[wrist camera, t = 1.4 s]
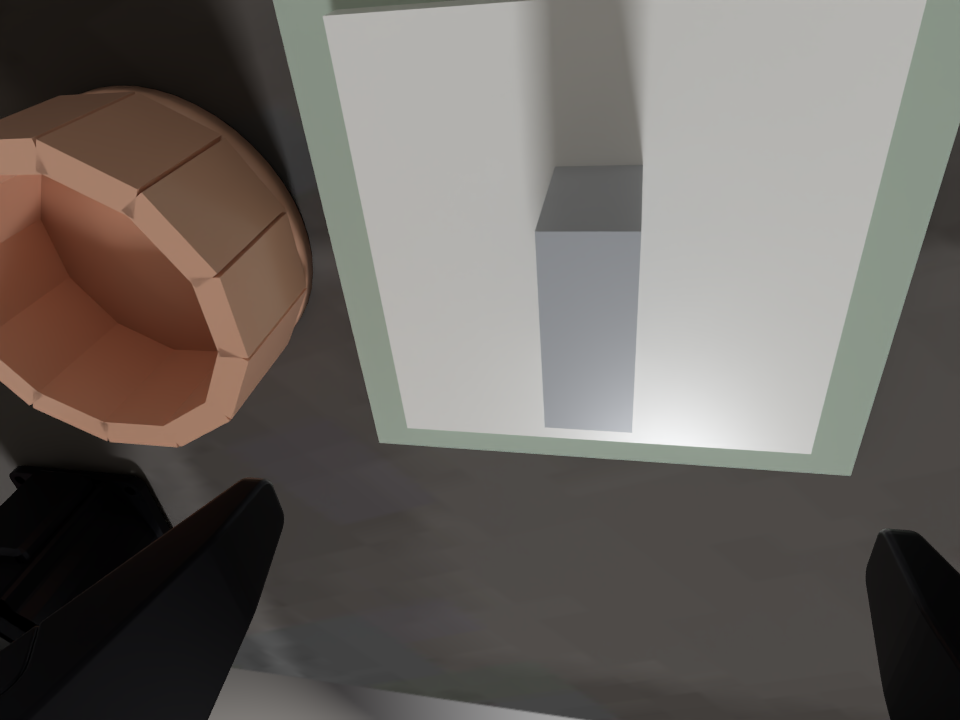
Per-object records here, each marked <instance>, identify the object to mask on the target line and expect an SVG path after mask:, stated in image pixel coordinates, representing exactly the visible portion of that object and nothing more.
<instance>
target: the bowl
mask: <svg viewBox="0 0 960 720" xmlns="http://www.w3.org/2000/svg"><path fill="white" fill-rule="evenodd" d="M312 277H313V266H312V254H311V249H310V244H309V238H308V235H307V232H306V229H305V226H304V223H303V220H302V218H301V215H300V213H299V211H298V209H297V207H296V205H295V202H294V200H293V199H292V197H291V195H290V194H289V192H288V190H287V189H286V187H285V185H284V183H283V182H282V180H281V179H280V178H279V176H278V175H277V174H276V172H275V171H274V170H273V168H272V167H271V166H270V164H269V163H268V162H267V161H266V160H265V159H264V158H263V157H262V155H261V154H260V153H259V152H258V151H257V150H256V149H255V148H254V147H253V146H252V145H251V144H250V143H249V142H248V141H247V140H246V139H244V138H243V137H242V136H241V135H240V134H239V133H238V132H237V131H235V130H234V129H233V128H231V127H230V126H229V125H227V124H226V123H225V122H223V121H222V120H220V119H219V118H218V117H216V116H215V115H213V114H211V113H209V112H208V111H206V110H204V109H203V108H201V107H199V106H197V105H195V104H193V103H191V102H189V101H186V100H184V99H182V98H180V97H177V96H175V95H171V94H168V93H165V92H162V91H159V90H155V89H150V88H144V87H138V86H108V87H101V88H96V89H93V90H90V91H87V92H84V93H81V94H79V95H60V96H57V97H55V98H52V99H50V100H47V101H45V102H42V103H40V104H37V105H35V106H32V107H30V108H27V109H25V110H22V111H20V112H17V113H15V114H12V115H10V116H7V117H5V118H2V119H0V381H1V382H2V383H3V384H4V385H6V386H7V387H8V388H9V389H10V390H12V391H13V392H14V393H15V394H16V395H18V396H19V397H20V398H21V399H22V400H24V401H25V402H26V403H27V404H28V405H29V406H30V405H31V404H33V408H35V409H37V410H39V411H41V412H43V413H46V414H48V415H50V416H52V417H55V418H57V419H59V420H61V421H63V422H66V423H68V424H70V425H72V426H74V427H77V428H79V429H81V430H83V431H85V432H88V433H90V434H92V435H94V436H97V437H99V438H101V439H103V440H105V441H107V440H108V439H109V441H110V442H116V443H129V444H142V445H155V446H168V447H179V446H180V447H181V446H183V445H185V444H187V443H189V442H191V441H193V440H195V439H197V438H199V437H200V436H202V435H204V434H206V433H208V432H210V431H212V430H214V429H216V428H218V427H219V426H221V425H223V424H225V423H227V422H229V421H230V420H231V419H232V418H233V417H234V415H235V414H236V413H237V411H238V410H239V409H240V407H241V406H242V405H243V403H244V402H245V401H246V399H247V398H248V397H249V395H250V394H251V393H252V391H253V390H254V389H255V387H256V386H257V385H258V383H259V382H260V380H261V379H262V378H263V376H264V375H265V374H266V372H267V371H268V370H269V368H270V367H271V366H272V364H273V363H274V362H275V360H276V359H277V358H278V356H279V355H280V354H281V352H282V351H283V350H284V348H285V347H286V346H287V344H288V343H289V340H290V337H291V334H292V331H293V329H294V327H295V326H296V324H297V323H298V321H299V320H300V318H301V317H302V315H303V313H304V311H305V308H306V306H307V304H308V301H309V297H310V293H311V289H312Z"/></svg>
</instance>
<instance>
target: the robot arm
mask: <svg viewBox="0 0 960 720" xmlns="http://www.w3.org/2000/svg"><path fill="white" fill-rule="evenodd" d="M9 477H10V479H11V480H12V482H13V483H14V485H15V486H16V488H17V490H16V491H15V492H14V493H13V494H12V495H11V496H10V497H9V498H8V499H7V500H6V501H5V502H4V503H3V504H2V505H1V506H0V720H208V718H209V716H210V714H211V711H212V709H213V707H214V705H215V702H216V700H217V698H218V696H219V693H220V691H221V689H222V686H223V684H224V682H225V680H226V677H227V675H228V673H229V671H230V668H231V666H232V664H233V662H234V659H235V657H236V655H237V653H238V650H239V648H240V646H241V644H242V641H243V639H244V637H245V635H246V632H247V630H248V628H249V625H250V623H251V621H252V618H253V616H254V613H255V611H256V608H257V605H258V602H259V600H260V597H261V593H262V590H263V587H264V584H265V581H266V578H267V575H268V572H269V569H270V566H271V563H272V560H273V556H274V553H275V550H276V547H277V544H278V541H279V538H280V535H281V532H282V529H283V524H284V514H283V510H282V508H281V505H280V503H279V500H278V498H277V495H276V493H275V490H274V487H273V485H272V483H271V482H270V481H269V480H267V479H262V478H244V479H242V480H240V481H238V482H237V483H236V484H234V485H233V486H231V487H230V488H228V489H227V490H226V491H224V492H223V493H221V494H220V495H219V496H217V497H216V498H214V499H213V500H212V501H210V502H209V503H207V504H206V505H205V506H203V507H202V508H200V509H199V510H198V511H196V512H195V513H193V514H192V515H191V516H189V517H188V518H186V519H185V520H184V521H182V522H181V523H179V524H178V525H176V526H175V527H174V528H172V529H171V530H170V529H169V527H168V525H167V523H166V522H165V520H164V518H163V516H162V514H161V512H160V510H159V508H158V507H157V505H156V503H155V501H154V499H153V497H152V495H151V493H150V492H149V490H148V488H147V486H146V484H145V483H144V482H143V481H142V480H141V479H140V478H138V477H135V476H131V475H121V474H110V473H98V472H87V471H76V470H64V469H53V468H42V467H31V466H18V467H17V468H15V469H14V470H13V471H12V472H11V473H10V476H9ZM866 587H867V593H868V599H869V606H870V612H871V618H872V625H873V631H874V637H875V644H876V650H877V656H878V663H879V669H880V676H881V681H882V687H883V692H884V697H885V701H886V705H887V709H888V713H889V716H890V720H960V574H959V573H958V572H957V571H956V570H955V569H954V568H953V567H952V566H951V565H950V564H949V563H948V562H947V561H946V560H945V559H944V558H943V557H942V556H941V555H940V554H939V553H938V552H937V551H936V550H935V549H934V548H933V547H932V546H931V545H930V544H929V543H928V542H927V541H926V540H925V539H924V538H923V537H922V536H921V535H920V534H918V533H916V532H914V531H910V530H898V529H883V530H881V531H880V532H879V534H878V536H877V539H876V542H875V544H874V547H873V550H872V553H871V556H870V559H869V562H868V564H867V568H866Z"/></svg>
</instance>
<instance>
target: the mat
mask: <svg viewBox="0 0 960 720" xmlns="http://www.w3.org/2000/svg"><path fill="white" fill-rule="evenodd" d="M442 1H455V0H273V3H274V7H275V11H276V16H277V20H278V24H279V28H280V32H281V36H282V40H283V45H284V49H285V53H286V57H287V61H288V65H289V69H290V74H291V78H292V82H293V86H294V90H295V94H296V98H297V103H298V107H299V111H300V115H301V119H302V123H303V127H304V132H305V136H306V140H307V144H308V148H309V152H310V156H311V161H312V165H313V169H314V173H315V177H316V181H317V185H318V190H319V194H320V198H321V202H322V206H323V210H324V215H325V219H326V223H327V227H328V231H329V235H330V239H331V244H332V248H333V252H334V256H335V260H336V264H337V268H338V273H339V277H340V281H341V285H342V289H343V293H344V297H345V302H346V306H347V310H348V314H349V318H350V322H351V326H352V331H353V335H354V339H355V343H356V347H357V351H358V355H359V360H360V364H361V368H362V372H363V376H364V380H365V384H366V389H367V393H368V397H369V401H370V405H371V409H372V413H373V418H374V422H375V426H376V430H377V434H378V438H379V442H380V443H390V444H404V445H418V446H433V447H447V448H461V449H475V450H490V451H504V452H518V453H532V454H547V455H561V456H575V457H589V458H603V459H618V460H632V461H646V462H660V463H675V464H689V465H703V466H717V467H732V468H746V469H760V470H774V471H789V472H803V473H817V474H831V475H846V476H851V473H852V470H853V466H854V463H855V460H856V457H857V453H858V450H859V447H860V444H861V441H862V437H863V434H864V431H865V428H866V424H867V421H868V418H869V415H870V411H871V408H872V405H873V402H874V398H875V395H876V392H877V389H878V385H879V382H880V379H881V376H882V373H883V369H884V366H885V363H886V360H887V356H888V353H889V350H890V347H891V343H892V340H893V337H894V334H895V330H896V327H897V324H898V321H899V317H900V314H901V311H902V308H903V305H904V301H905V298H906V295H907V292H908V288H909V285H910V282H911V279H912V275H913V272H914V269H915V266H916V262H917V259H918V256H919V253H920V249H921V246H922V243H923V240H924V237H925V233H926V230H927V227H928V224H929V220H930V217H931V214H932V211H933V207H934V204H935V201H936V198H937V194H938V191H939V188H940V185H941V182H942V178H943V175H944V172H945V169H946V165H947V162H948V159H949V156H950V152H951V149H952V146H953V143H954V139H955V136H956V133H957V130H958V126H959V123H960V0H927V1H926V5H925V9H924V13H923V17H922V21H921V25H920V29H919V33H918V37H917V41H916V45H915V48H914V52H913V56H912V60H911V64H910V68H909V72H908V76H907V80H906V84H905V88H904V92H903V95H902V99H901V103H900V107H899V111H898V115H897V119H896V123H895V127H894V131H893V135H892V139H891V142H890V146H889V150H888V154H887V158H886V162H885V166H884V170H883V174H882V178H881V182H880V186H879V190H878V193H877V197H876V201H875V205H874V209H873V213H872V217H871V221H870V225H869V229H868V233H867V237H866V240H865V244H864V248H863V252H862V256H861V260H860V264H859V268H858V272H857V276H856V280H855V284H854V287H853V291H852V295H851V299H850V303H849V307H848V311H847V315H846V319H845V323H844V327H843V331H842V335H841V338H840V342H839V346H838V350H837V354H836V358H835V362H834V366H833V370H832V374H831V378H830V382H829V385H828V389H827V393H826V397H825V401H824V405H823V409H822V413H821V417H820V421H819V425H818V429H817V432H816V436H815V440H814V444H813V448H812V452H811V454H800V453H784V452H769V451H753V450H738V449H722V448H707V447H692V446H676V445H661V444H645V443H630V442H614V441H599V440H583V439H568V438H552V437H537V436H521V435H506V434H490V433H475V432H460V431H444V430H429V429H413V428H407V424H406V419H405V414H404V409H403V404H402V399H401V394H400V390H399V385H398V380H397V375H396V370H395V365H394V360H393V356H392V351H391V346H390V341H389V336H388V331H387V326H386V322H385V317H384V312H383V307H382V302H381V297H380V292H379V288H378V283H377V278H376V273H375V268H374V263H373V258H372V254H371V249H370V244H369V239H368V234H367V229H366V224H365V220H364V215H363V210H362V205H361V200H360V195H359V190H358V186H357V181H356V176H355V171H354V166H353V161H352V156H351V152H350V147H349V142H348V137H347V132H346V127H345V122H344V118H343V113H342V108H341V103H340V98H339V93H338V88H337V84H336V79H335V74H334V69H333V64H332V59H331V54H330V50H329V45H328V40H327V35H326V30H325V25H324V21H323V16H324V15H326V14H328V13H330V12H332V11H334V10H337V9H350V8H363V7H376V6H389V5H402V4H416V3H429V2H442Z"/></svg>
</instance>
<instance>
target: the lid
mask: <svg viewBox="0 0 960 720" xmlns="http://www.w3.org/2000/svg"><path fill="white" fill-rule="evenodd" d="M926 1H927V0H455V1H442V2H429V3H416V4H402V5H389V6H376V7H363V8H350V9H337V10H334V11H332V12H330V13H328V14H326V15H324V16H323V21H324V25H325V30H326V35H327V40H328V45H329V50H330V54H331V59H332V64H333V69H334V74H335V79H336V84H337V88H338V93H339V98H340V103H341V108H342V113H343V118H344V122H345V127H346V132H347V137H348V142H349V147H350V152H351V156H352V161H353V166H354V171H355V176H356V181H357V186H358V190H359V195H360V200H361V205H362V210H363V215H364V220H365V224H366V229H367V234H368V239H369V244H370V249H371V254H372V258H373V263H374V268H375V273H376V278H377V283H378V288H379V292H380V297H381V302H382V307H383V312H384V317H385V322H386V326H387V331H388V336H389V341H390V346H391V351H392V356H393V360H394V365H395V370H396V375H397V380H398V385H399V390H400V394H401V399H402V404H403V409H404V414H405V419H406V424H407V428H413V429H429V430H444V431H460V432H475V433H490V434H506V435H521V436H537V437H552V438H568V439H583V440H599V441H614V442H630V443H645V444H661V445H676V446H692V447H707V448H722V449H738V450H753V451H769V452H784V453H800V454H811V452H812V448H813V444H814V440H815V436H816V432H817V429H818V425H819V421H820V417H821V413H822V409H823V405H824V401H825V397H826V393H827V389H828V385H829V382H830V378H831V374H832V370H833V366H834V362H835V358H836V354H837V350H838V346H839V342H840V338H841V335H842V331H843V327H844V323H845V319H846V315H847V311H848V307H849V303H850V299H851V295H852V291H853V287H854V284H855V280H856V276H857V272H858V268H859V264H860V260H861V256H862V252H863V248H864V244H865V240H866V237H867V233H868V229H869V225H870V221H871V217H872V213H873V209H874V205H875V201H876V197H877V193H878V190H879V186H880V182H881V178H882V174H883V170H884V166H885V162H886V158H887V154H888V150H889V146H890V142H891V139H892V135H893V131H894V127H895V123H896V119H897V115H898V111H899V107H900V103H901V99H902V95H903V92H904V88H905V84H906V80H907V76H908V72H909V68H910V64H911V60H912V56H913V52H914V48H915V45H916V41H917V37H918V33H919V29H920V25H921V21H922V17H923V13H924V9H925V5H926Z"/></svg>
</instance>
